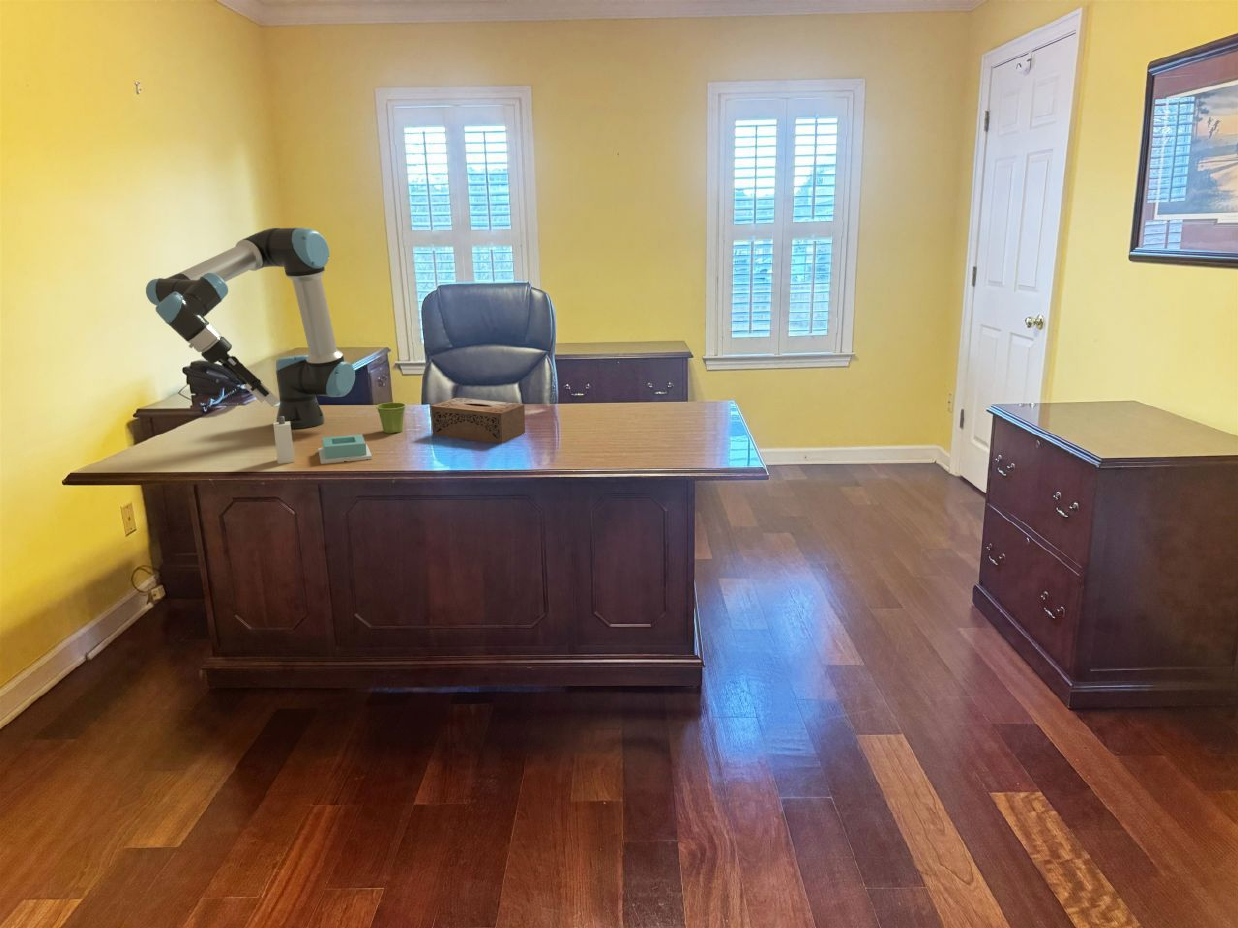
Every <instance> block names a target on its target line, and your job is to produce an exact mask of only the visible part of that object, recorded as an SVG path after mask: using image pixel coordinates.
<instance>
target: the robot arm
mask: <svg viewBox="0 0 1238 928" xmlns="http://www.w3.org/2000/svg"><path fill="white" fill-rule="evenodd" d="M329 257H330V248H329V244H328V242H327V240H326V239H325V237H324V236H323V235H322V234H321V233H320V232H319V231H317V230H316V229H314V228H313V229H312V228H307V227H272V228H267V229H265V230H261V231H258V232H256V233H254V234H251V235H248V236H247V237H245V238H242V239H241V240H238V241H237V242H236V244H235V247H232V248H230V249H227V250H226V251H223V252H222V253H219V254H217V255H215V256H212V257H210V258H208V259H206V260H203V261H201V262H199V263H197V264H196V265H193V266H191V267H190V268H186V269H185V270H183V271H180V272H178V273H176V274H173V275H171V276H169V277H167V278H163V277H159V278H153V279H151V280H150V281H148V283H147V285H146V287H145V293H146V297H147V300H148V301H149V302H150V303H151V304H153V305H154V306H155V312H156V314H157V315H158V316H159V317H160V318H161V319H162V320H163V321H164V322H165V324H167V325H168V326H170V328H172V329H173V330H174V331H175V333H177V334H178V335H179V336H180V337H182V339H183V340H185V341H186V342H187V343H188V347H189V349H194V350H195V351H196V352H198V353H200V354H201V357H202V358H204V359H205V361H206V362H208V363H209V364H210V365H211V364H215V363H217V362H218V363H220V364H221V368H223V369H225V370H226V371H227V372H228V373H230V374H231V376H233V377H234V378H235V379H236V380H237V382H238V383H239V384H241V385H243V387H244V388H245V389H246V390H247V391H248V392H249V393H251V395H252V396H253V397H255V398H256V399H257V400H258V401H259V402H260V403H263V402H264V401H265V402H266V403H267V404H268V406H270V407H271V408H273V407H274V406H275V405H276V404H278V403H279V406H278V410H277V415H276V421H275V422H279V420H278V417H279V416H284V419H285V422H288V421H290V425H291V429H306V428H311V427H317V426H320V425H323V424H324V423H325V415H324V413H323V410H322V409H321V406H320V404H319V402H318V399H317V396H321V397H329V398H338V397H339V398H341V397H345V396H346V395H348V394H349V393H350V392H351V391H352V389H353V386H354V384H355V380H356V371H355V368H354V366H353V365H352V364H351V362H348V361H345V358H344V354H343V353H344V352H342V351H340V349H337V343H336V339H335V334H334V330H333V325H332V320H331V316H330V315H331V314H330V312H329V311H330V310H329V306H328V302H327V296H326V292H325V288H324V284H323V278H322V276H323V274H324V273H325V271H326V269H325V266H326V265H328V263H329ZM269 267H272V268H273V267H280V268H283V269H284V274H285V277H287V278H289V279H290V280H291V281H292V284H293V288H294V291H295V297H296V301H297V306H298V310H299V314H300V318H301V322H302V327H303V331H304V336H305V341H306V344H307V348H308V353H309V354H297V355H289V356H285V357H281V358H278V359H277V360H276V362H275V368H276V369H275V373H276V381H277V387H278V389H277V390H278V394H279V395H278V396H279V398H278V397H277V396H276V395H275V394H274V393H273V392H272V391H271V390H270V389H269V388H267V386H265V385H264V384H263V382H262V381H261V379H259V378H258V377H257V376H256V375H254V374H253V373H252V372H251V371H250V370H249V369H248V368H247V367H245V365H244V364H243V363H242V362H240V360H239V359H238V358H237V357H236V356H235V355H230V354H229V351H231V350H232V348H233V345H232V344H231V343H230V342H229V340H228V339H227V338H226V337H224V336H222V335H221V333H220V331H218V330H217V328H215V326H213V325H212V324H211V323H210V322H209V321H208V320H207V319H206V318H205V317H206V316H207V315H208V314H209V313H210V312H211V311H212V310H214V309H215V307H217V306H218V305H219V304H220V303H222V302H223V300H224V299H225V297H227V295H228V293H229V286H228V284H227V283H226V282H228V281H230V280H232V279H234V278H236V277H238V276H241V275H242V274H244V273H246V272H248V271H253V272H254V271H256V272H257V271H258V270H261V269H262V268H269ZM230 374H229V375H230Z"/></svg>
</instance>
